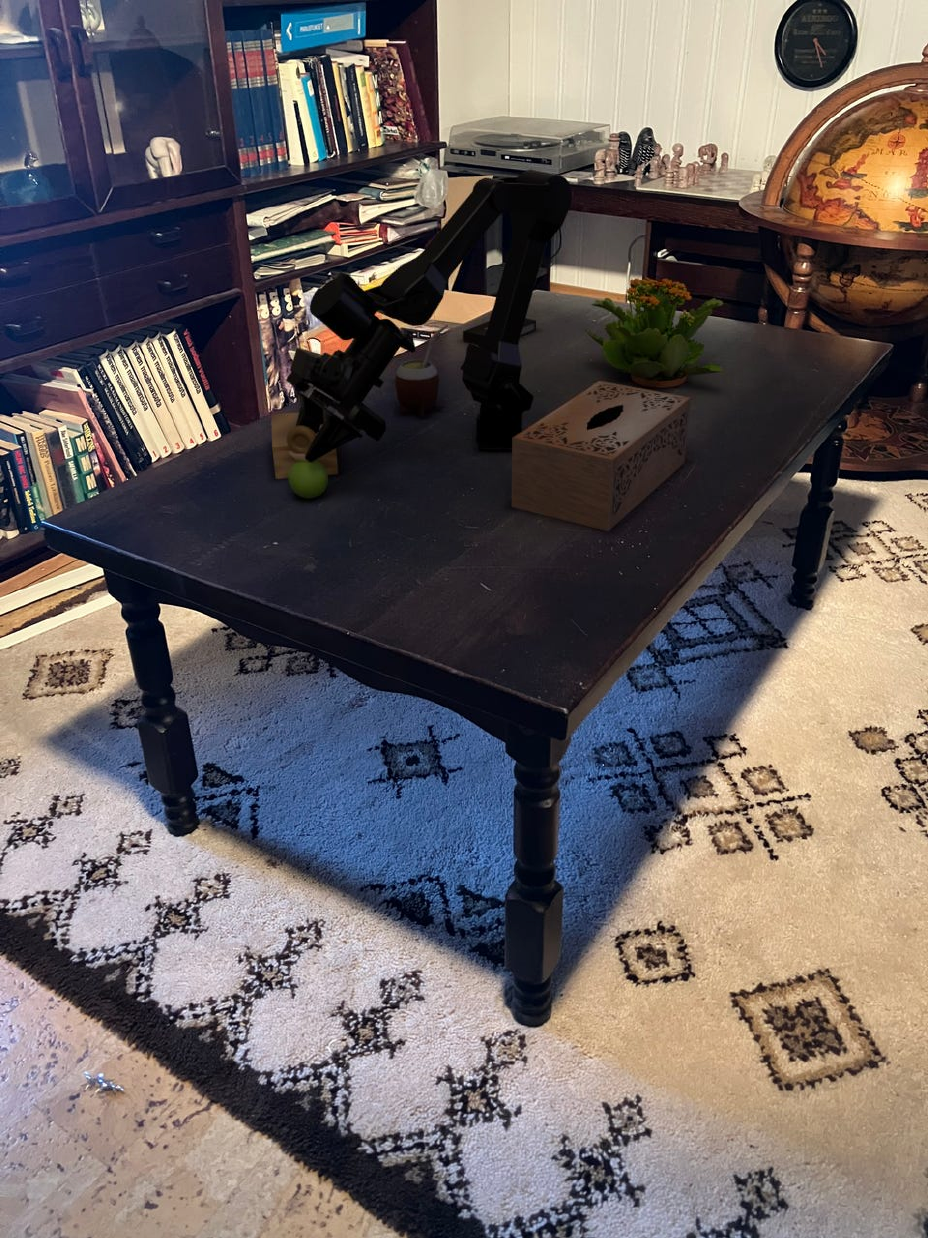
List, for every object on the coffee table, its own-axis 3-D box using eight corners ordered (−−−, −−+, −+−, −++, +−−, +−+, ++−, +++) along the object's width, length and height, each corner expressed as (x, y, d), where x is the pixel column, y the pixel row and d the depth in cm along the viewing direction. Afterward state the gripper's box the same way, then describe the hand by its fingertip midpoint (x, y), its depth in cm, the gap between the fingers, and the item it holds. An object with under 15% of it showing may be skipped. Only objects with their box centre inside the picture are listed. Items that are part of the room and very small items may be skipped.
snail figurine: (329, 506, 143) (322, 423, 137) (285, 503, 144) (275, 420, 138) (341, 490, 148) (334, 408, 142) (297, 486, 149) (289, 406, 143)
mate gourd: (392, 407, 176) (387, 317, 168) (437, 401, 178) (434, 312, 170) (404, 422, 170) (399, 330, 162) (450, 416, 172) (448, 325, 164)
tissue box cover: (608, 531, 136) (612, 459, 131) (511, 506, 143) (512, 437, 137) (684, 462, 154) (691, 397, 149) (595, 443, 161) (599, 380, 156)
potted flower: (759, 386, 181) (773, 283, 172) (657, 416, 170) (667, 307, 161) (658, 351, 199) (666, 255, 190) (561, 375, 188) (564, 275, 179)
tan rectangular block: (332, 440, 164) (330, 409, 161) (338, 474, 153) (335, 441, 150) (274, 444, 162) (271, 414, 160) (275, 479, 151) (272, 446, 149)
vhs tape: (536, 330, 212) (536, 320, 210) (493, 348, 202) (493, 337, 201) (506, 324, 216) (506, 314, 214) (463, 341, 206) (462, 331, 205)
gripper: (292, 308, 142) (227, 403, 143) (359, 342, 129) (287, 446, 130) (347, 354, 150) (285, 444, 151) (416, 391, 137) (348, 489, 138)
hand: (299, 454), depth 142 cm, fingers closed on snail figurine, 4 cm apart
